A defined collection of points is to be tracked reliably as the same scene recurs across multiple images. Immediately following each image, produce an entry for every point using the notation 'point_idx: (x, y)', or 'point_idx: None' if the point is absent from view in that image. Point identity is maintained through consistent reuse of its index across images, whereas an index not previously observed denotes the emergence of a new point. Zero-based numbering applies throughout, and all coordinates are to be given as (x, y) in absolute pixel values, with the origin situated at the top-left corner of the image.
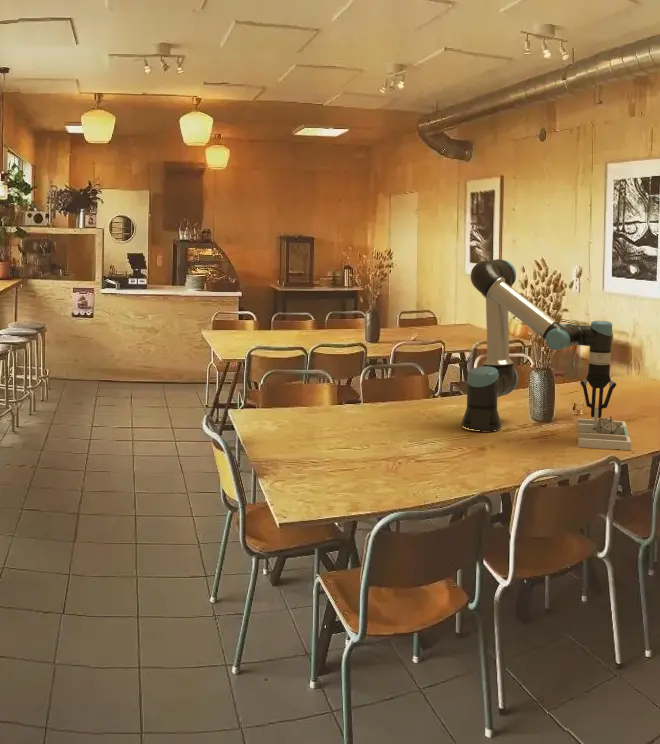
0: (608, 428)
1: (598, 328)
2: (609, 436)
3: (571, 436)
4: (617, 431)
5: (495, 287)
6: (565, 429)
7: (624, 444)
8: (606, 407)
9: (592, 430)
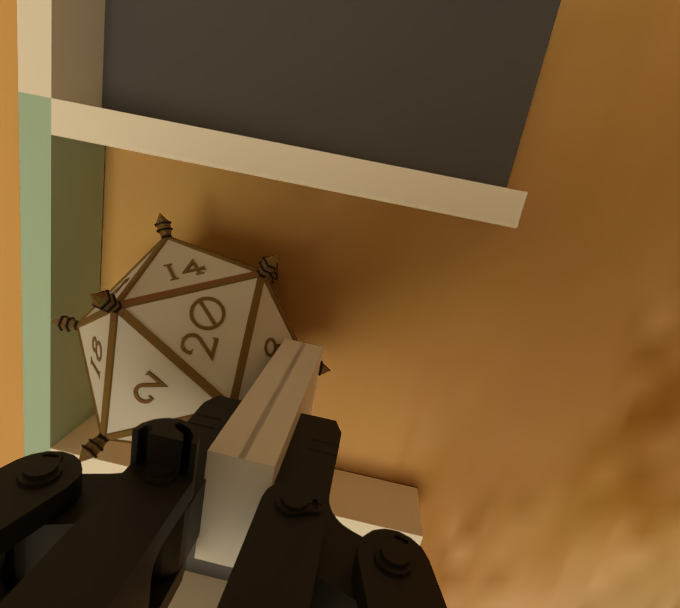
0: (184, 257)
1: None
2: (213, 130)
3: (507, 354)
4: None
5: None
6: (489, 552)
7: None
8: (39, 453)
9: None
